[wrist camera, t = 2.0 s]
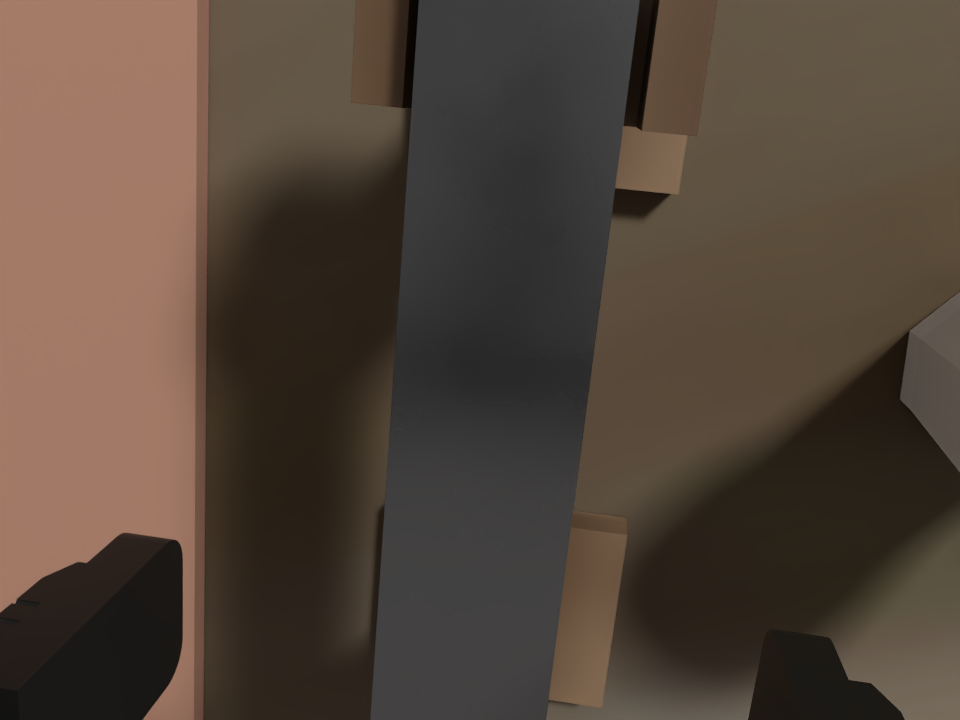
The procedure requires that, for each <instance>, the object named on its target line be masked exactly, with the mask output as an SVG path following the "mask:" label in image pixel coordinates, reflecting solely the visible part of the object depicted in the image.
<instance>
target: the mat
mask: <svg viewBox="0 0 960 720" xmlns="http://www.w3.org/2000/svg"><path fill="white" fill-rule="evenodd" d="M208 81H209V0H0V612H2V611H3V610H4V609H5V608H6V607H8V606H9V605H10V604H11V603H14V604H15V603H16V601H17V598H18V597H20V596H21V595H22V594H23V593H24V592H26V591H27V590H28V589H29V588H30V587H32V586H33V585H34V584H35V583H36V582H38V581H39V580H40V579H41V578H43V577H45V576H47V575H49V574H52V573H54V572H56V571H58V570H61V569H63V568H65V567H67V566H70V565H72V564H74V563H76V562H84V563H87V562H88V561H90V560H91V559H92V558H93V557H94V556H95V555H96V554H98V553H99V552H100V551H101V550H102V549H103V548H104V547H106V546H107V545H108V544H109V543H110V542H111V541H112V540H114V539H115V538H116V537H117V536H118V535H120V534H122V533H133V534H140V535H146V536H153V537H160V538H167V539H173V540H177V541H178V542H179V543H180V545H181V548H182V554H183V642H182V650H181V655H180V659H179V663H178V666H177V669H176V671H175V674H174V676H173V678H172V680H171V682H170V684H169V685H168V687H167V688H166V689H165V691H164V692H163V693H162V695H161V696H160V697H159V699H158V700H157V701H156V703H155V704H154V705H153V707H152V708H151V709H150V711H149V712H148V713H147V715H146V716H145V717H144V719H143V720H203V714H204V587H205V461H206V334H207V208H208Z"/></svg>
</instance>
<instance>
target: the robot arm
mask: <svg viewBox="0 0 960 720" xmlns="http://www.w3.org/2000/svg"><path fill="white" fill-rule="evenodd" d="M182 642H183V554H182V548H181V545H180V543H179V542H178V541H177V540H173V539H167V538H160V537H153V536H146V535H140V534H133V533H122V534H120V535H118V536H117V537H116V538H115V539H114V540H112V541H111V542H110V543H109V544H108V545H107V546H106V547H104V548H103V549H102V550H101V551H100V552H99V553H98V554H96V555H95V556H94V557H93V558H92V559H91V560H90V561H88V562H87V563H84V562H76V563H74V564H72V565H70V566H67V567H65V568H63V569H61V570H58V571H56V572H54V573H52V574H49V575H47V576H45V577H43V578H41V579H40V580H39V581H38V582H36V583H35V584H34V585H33V586H32V587H30V588H29V589H28V590H27V591H26V592H24V593H23V594H22V595H21V596H20V597H18V598H17V601H16V603H15V604H14V603H11V604H10V605H9V606H8V607H6V608H5V609H4V610H3V611H2V612H0V720H143V719H144V717H145V716H146V715H147V713H148V712H149V711H150V709H151V708H152V707H153V705H154V704H155V703H156V701H157V700H158V699H159V697H160V696H161V695H162V693H163V692H164V691H165V689H166V688H167V687H168V685H169V684H170V682H171V680H172V678H173V676H174V674H175V671H176V669H177V666H178V663H179V659H180V655H181V650H182ZM748 720H905V719H904V717H903V715H902V713H901V712H900V711H899V710H898V709H897V708H896V707H895V706H894V705H893V704H892V703H891V702H890V701H889V700H888V699H887V698H886V697H885V696H884V695H883V694H882V693H881V692H879V691H878V690H877V689H876V688H875V687H874V686H873V685H872V684H871V683H865V682H858V681H852V680H848V677H847V675H846V673H845V670H844V668H843V666H842V663H841V661H840V659H839V656H838V654H837V652H836V649H835V647H834V645H833V643H832V641H831V639H830V638H828V637H822V636H815V635H808V634H801V633H795V632H788V631H781V630H774V629H770V630H769V631H768V633H767V634H766V637H765V640H764V643H763V648H762V653H761V658H760V663H759V668H758V673H757V678H756V683H755V688H754V693H753V698H752V703H751V708H750V713H749V718H748Z"/></svg>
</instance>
